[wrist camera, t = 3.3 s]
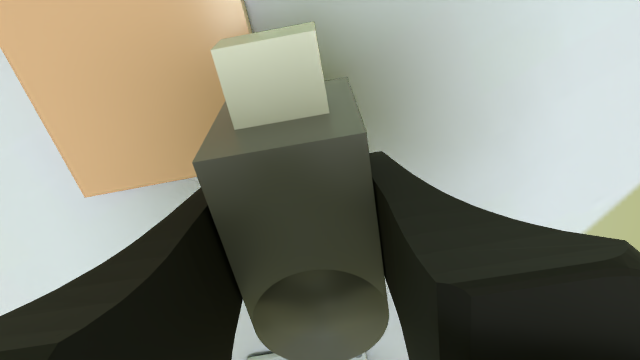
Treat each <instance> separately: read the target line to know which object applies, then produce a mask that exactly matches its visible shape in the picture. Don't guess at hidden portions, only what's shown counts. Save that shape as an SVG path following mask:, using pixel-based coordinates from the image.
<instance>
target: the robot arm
mask: <svg viewBox="0 0 640 360" xmlns="http://www.w3.org/2000/svg"><path fill="white" fill-rule="evenodd" d="M369 157H370V165H371V173H372V181H373V189H374V197H375V205H376V213H377V221H378V229H379V237H380V245H381V253H382V261H383V269H384V276H385V279H386V282H387V284H388V287H389V290H390V293H391V296H392V299H393V302H394V305H395V307H396V310H397V313H398V317H399V320H400V324H401V327H402V331H403V335H404V340H405V344H406V348H407V352H408V356H409V360H640V252H639V251H638V250H636V249H635V248H634V247H633V246H632V245H630V244H629V243H628V242H627V241H625V240H619V239H612V238H606V237H599V236H592V235H586V234H580V233H573V232H567V231H561V230H557V229H552V228H548V227H543V226H539V225H534V224H530V223H526V222H522V221H519V220H515V219H511V218H508V217H505V216H502V215H499V214H496V213H493V212H489V211H486V210H484V209H481V208H478V207H475V206H473V205H471V204H468V203H466V202H464V201H461V200H459V199H457V198H454V197H452V196H450V195H448V194H446V193H444V192H442V191H440V190H438V189H437V188H435V187H433V186H431V185H429V184H428V183H426V182H424V181H423V180H421V179H419V178H418V177H416V176H415V175H413V174H412V173H410V172H409V171H407V170H406V169H405V168H403V167H402V166H401V165H399V164H398V163H397V162H395V161H394V160H393V159H391V158H390V157H389V156H387V155H386V154H385V153H383V152H382V151H380V152H374V153H369ZM242 300H243V298H242V295H241V292H240V290H239V287H238V284H237V281H236V279H235V276H234V273H233V271H232V268H231V265H230V263H229V260H228V257H227V255H226V252H225V249H224V247H223V244H222V241H221V239H220V236H219V233H218V231H217V228H216V225H215V223H214V220H213V217H212V215H211V212H210V209H209V207H208V204H207V201H206V199H205V196H204V193H203V191H202V188H200V189H199V190H197V191H196V192H195V193H194V194H193V195H191V196H190V197H189V198H188V199H187V200H186V201H184V202H183V203H182V204H181V205H180V206H179V207H177V208H176V209H175V210H174V211H173V212H172V213H170V214H169V215H168V216H167V217H166V218H164V219H163V220H162V221H160V222H159V223H158V224H157V225H155V226H154V227H153V228H152V229H150V230H149V231H148V232H146V233H145V234H144V235H143V236H141V237H140V238H139V239H137V240H136V241H135V242H133V243H132V244H131V245H129V246H128V247H126V248H125V249H123V250H122V251H120V252H119V253H117V254H116V255H114V256H113V257H111V258H110V259H108V260H107V261H105V262H104V263H102V264H100V265H99V266H97V267H95V268H94V269H92V270H90V271H88V272H86V273H85V274H83V275H81V276H79V277H78V278H76V279H74V280H72V281H70V282H69V283H67V284H65V285H63V286H62V287H60V288H58V289H56V290H54V291H52V292H50V293H48V294H46V295H44V296H42V297H40V298H38V299H36V300H34V301H32V302H30V303H28V304H26V305H24V306H21V307H19V308H17V309H15V310H13V311H11V312H9V313H6V314H4V315H2V316H0V360H231V359H232V350H233V344H234V338H235V333H236V328H237V323H238V319H239V314H240V309H241V305H242ZM247 360H288V359H285V358H283V357H281V356H278V355H277V354H275V353H273V354H267V355H261V356H254V357H250V358H248V359H247ZM349 360H367V358H366V353H365V352H364V353H363V354H361V355H359V356H357V357H355V358H352V359H349Z"/></svg>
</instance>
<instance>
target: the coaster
mask: <svg viewBox="0 0 640 360" xmlns="http://www.w3.org/2000/svg"><path fill="white" fill-rule="evenodd" d="M251 33H252V30H251V26H250V22H249V18H248V14H247V11H246V7H245V3H244V0H0V48H1V49H2V51H3V53H4V55H5V56H6V58H7V60H8V62H9V64H10V65H11V67H12V69H13V71H14V72H15V74H16V76H17V78H18V80H19V81H20V83H21V85H22V87H23V88H24V90H25V92H26V94H27V96H28V97H29V99H30V101H31V103H32V104H33V106H34V108H35V110H36V112H37V113H38V115H39V117H40V119H41V120H42V122H43V124H44V126H45V128H46V129H47V131H48V133H49V135H50V136H51V138H52V140H53V142H54V144H55V145H56V147H57V149H58V151H59V152H60V154H61V156H62V158H63V160H64V161H65V163H66V165H67V167H68V168H69V170H70V172H71V174H72V176H73V177H74V179H75V181H76V183H77V184H78V186H79V188H80V190H81V192H82V193H83V195H84V197H91V196H96V195H101V194H107V193H112V192H117V191H123V190H128V189H133V188H139V187H144V186H149V185H155V184H160V183H165V182H171V181H176V180H182V179H187V178H192V177H197V175H196V172H195V169H194V167H193V164H192V162H193V160H194V158H195V156H196V154H197V152H198V150H199V149H200V147H201V145H202V143H203V141H204V139H205V137H206V136H207V134H208V132H209V130H210V128H211V126H212V124H213V123H214V121H215V119H216V117H217V115H218V113H219V111H220V110H221V108H222V106H223V104H224V102H225V97H224V94H223V90H222V87H221V84H220V80H219V77H218V74H217V70H216V67H215V64H214V60H213V57H212V54H211V49H212V48H213V47H214V46H215V45H216V44H217V43H218V42H219V41H220V40H221V39H225V38H230V37H235V36H241V35H246V34H251Z"/></svg>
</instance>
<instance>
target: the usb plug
mask: <svg viewBox="0 0 640 360" xmlns="http://www.w3.org/2000/svg"><path fill="white" fill-rule="evenodd" d="M211 54H212V57H213V60H214V64H215V67H216V70H217V74H218V77H219V80H220V84H221V87H222V90H223V94H224V97H225V102H224V104H223V106H222V108H221V110H220V111H219V113H218V115H217V117H216V119H215V121H214V123H213V124H212V126H211V128H210V130H209V132H208V134H207V136H206V137H205V139H204V141H203V143H202V145H201V147H200V149H199V150H198V152H197V154H196V156H195V158H194V160H193V162H192V164H193V167H194V169H195V172H196V175H197V177H198V180H199V183H200V185H201V188H202V191H203V193H204V196H205V199H206V201H207V204H208V207H209V209H210V212H211V215H212V217H213V220H214V223H215V225H216V228H217V231H218V233H219V236H220V239H221V241H222V244H223V247H224V249H225V252H226V255H227V257H228V260H229V263H230V265H231V268H232V271H233V273H234V276H235V279H236V281H237V284H238V287H239V290H240V292H241V295H242V298H243V300H244V303H245V306H246V308H247V311H248V314H249V316H250V319H251V322H252V324H253V327H254V330H255V332H256V334H257V336H258V338H259V339H260V341H261V342H262V343H263V344H264V345H265V346H266V347H267V348H268V349H269V350H271V351H272V352H273V353H275V354H277V355H278V356H281V357H283V358H285V359H288V360H349V359H352V358H355V357H357V356H359V355H361V354H363V353H364V352H366V351H367V350H369V349H370V348H371V347H373V346H374V345H375V344H376V343H377V342H378V341H379V340H380V338H381V337H382V336H383V334H384V332H385V330H386V328H387V325H388V320H389V309H388V301H387V293H386V285H385V277H384V269H383V261H382V253H381V245H380V237H379V229H378V221H377V213H376V205H375V197H374V189H373V181H372V173H371V165H370V157H369V149H368V141H367V133H366V130H365V127H364V124H363V121H362V118H361V115H360V112H359V110H358V107H357V104H356V101H355V98H354V95H353V92H352V89H351V86H350V84H349V81H348V78H347V77H345V78H339V79H334V80H328V81H324V77H323V71H322V65H321V59H320V53H319V47H318V42H317V36H316V30H315V24H314V22H309V23H304V24H298V25H293V26H288V27H283V28H277V29H272V30H267V31H262V32H256V33H251V34H246V35H241V36H235V37H230V38H225V39H221V40H220V41H219V42H218V43H217V44H216V45H215V46H214V47H213V48H212V49H211Z"/></svg>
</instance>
